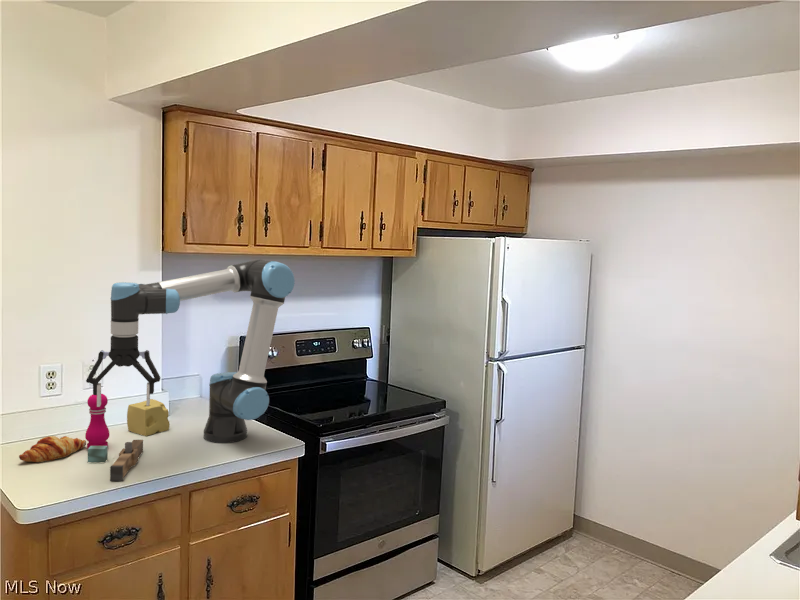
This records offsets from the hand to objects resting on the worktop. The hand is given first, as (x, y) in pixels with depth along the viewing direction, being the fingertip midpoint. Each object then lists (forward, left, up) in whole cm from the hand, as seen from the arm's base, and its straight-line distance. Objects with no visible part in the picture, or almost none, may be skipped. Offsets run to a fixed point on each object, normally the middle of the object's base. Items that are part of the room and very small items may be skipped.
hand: (123, 405), depth 193 cm
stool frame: (+5, -11, -20) cm, 24 cm away
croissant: (+24, -13, -21) cm, 35 cm away
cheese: (+2, -39, -21) cm, 44 cm away
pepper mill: (+13, -20, -21) cm, 32 cm away
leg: (0, 0, -20) cm, 20 cm away
